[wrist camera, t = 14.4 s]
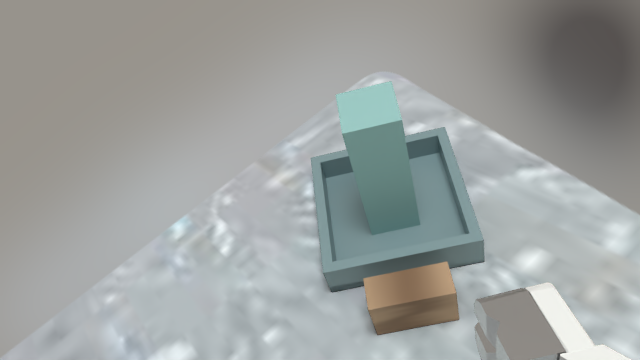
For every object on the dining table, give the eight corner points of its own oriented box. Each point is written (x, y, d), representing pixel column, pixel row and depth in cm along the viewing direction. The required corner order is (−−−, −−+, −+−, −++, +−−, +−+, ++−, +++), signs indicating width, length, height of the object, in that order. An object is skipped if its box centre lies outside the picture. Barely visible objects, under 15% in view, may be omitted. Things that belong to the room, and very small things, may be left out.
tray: (331, 292, 44) (323, 273, 42) (318, 179, 52) (310, 157, 50) (484, 261, 43) (483, 239, 41) (446, 150, 51) (444, 126, 49)
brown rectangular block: (377, 335, 41) (368, 310, 38) (372, 304, 43) (363, 278, 40) (459, 319, 41) (456, 292, 38) (450, 289, 42) (447, 261, 39)
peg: (371, 235, 46) (342, 133, 37) (365, 197, 49) (335, 94, 40) (420, 224, 46) (401, 119, 37) (410, 187, 48) (391, 81, 39)
